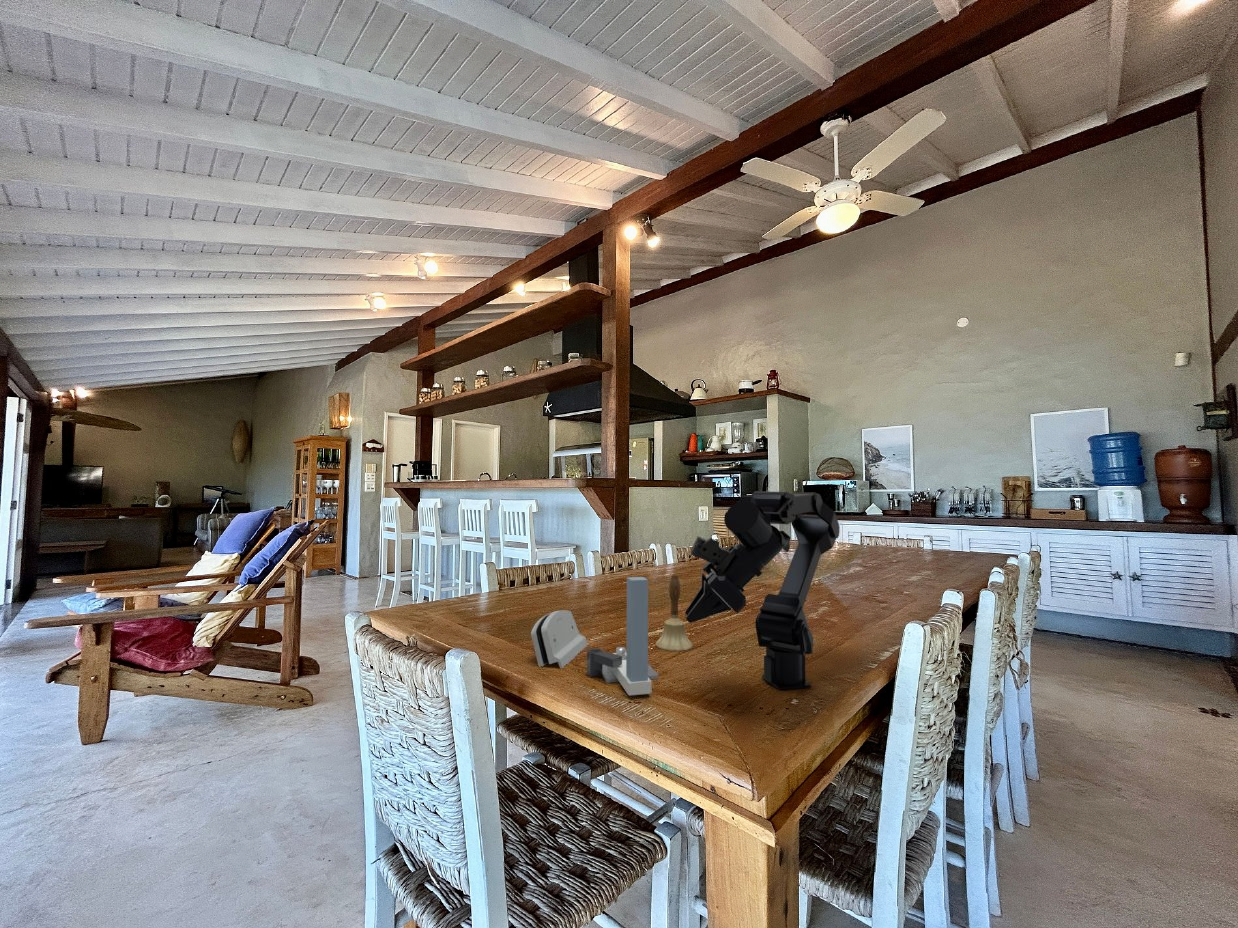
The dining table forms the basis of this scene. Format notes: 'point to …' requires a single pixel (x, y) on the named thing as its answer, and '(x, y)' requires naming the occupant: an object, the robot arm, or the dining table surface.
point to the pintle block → (609, 664)
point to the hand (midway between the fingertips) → (687, 617)
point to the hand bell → (674, 623)
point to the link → (636, 640)
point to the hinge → (557, 638)
